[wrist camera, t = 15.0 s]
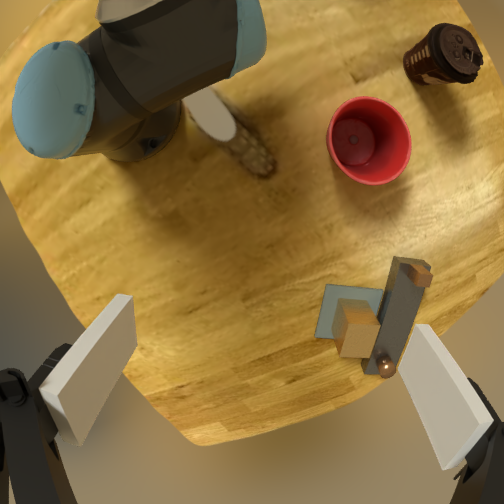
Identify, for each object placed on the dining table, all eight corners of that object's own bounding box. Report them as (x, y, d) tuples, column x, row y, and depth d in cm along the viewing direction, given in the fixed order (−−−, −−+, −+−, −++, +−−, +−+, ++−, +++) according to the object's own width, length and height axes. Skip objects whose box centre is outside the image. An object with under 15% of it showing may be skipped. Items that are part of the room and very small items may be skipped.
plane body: (388, 364, 55) (398, 387, 48) (360, 364, 55) (369, 388, 48) (423, 260, 48) (442, 276, 41) (393, 256, 48) (410, 272, 41)
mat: (314, 335, 53) (314, 337, 53) (326, 283, 50) (326, 285, 49) (367, 338, 53) (368, 340, 52) (382, 289, 50) (383, 290, 49)
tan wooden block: (357, 330, 52) (369, 357, 44) (330, 328, 52) (339, 356, 44) (366, 300, 50) (380, 325, 42) (338, 297, 50) (349, 323, 42)
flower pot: (370, 97, 40) (394, 87, 31) (393, 166, 43) (421, 172, 34) (305, 116, 42) (315, 108, 33) (331, 186, 45) (346, 197, 36)
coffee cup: (450, 82, 38) (496, 71, 25) (416, 101, 39) (460, 91, 27) (422, 37, 35) (462, 13, 23) (386, 54, 37) (422, 29, 25)
